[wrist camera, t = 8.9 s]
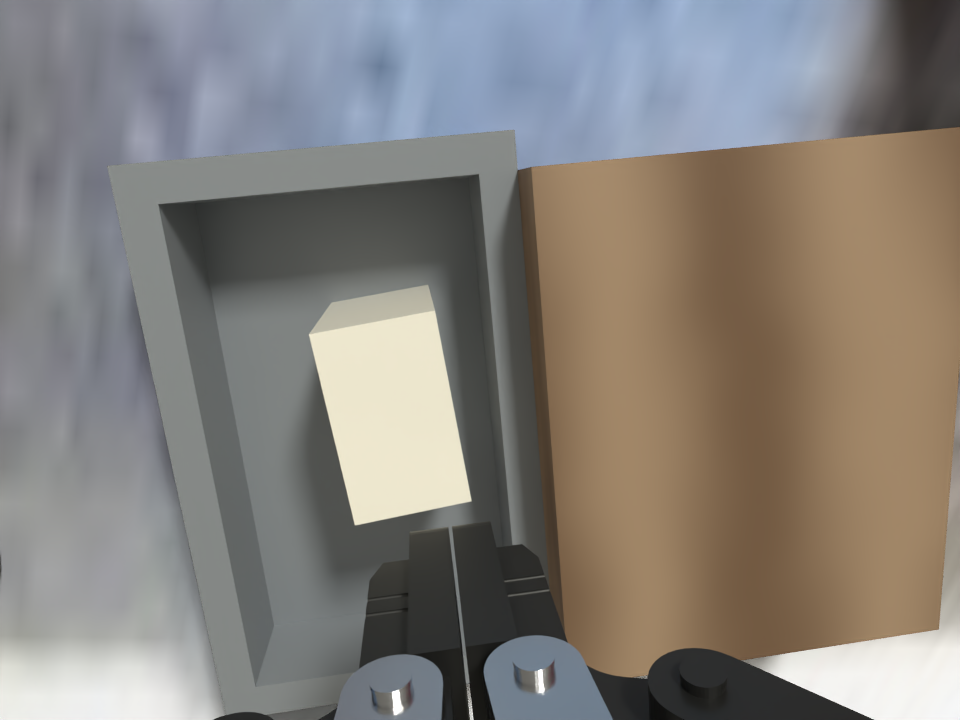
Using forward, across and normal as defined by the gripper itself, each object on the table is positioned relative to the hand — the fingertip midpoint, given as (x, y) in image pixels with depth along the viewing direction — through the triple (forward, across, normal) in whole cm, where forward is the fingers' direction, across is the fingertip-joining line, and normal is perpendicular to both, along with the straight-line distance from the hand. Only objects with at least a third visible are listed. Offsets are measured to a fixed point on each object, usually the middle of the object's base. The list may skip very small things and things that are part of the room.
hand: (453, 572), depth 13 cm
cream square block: (+7, 0, -2) cm, 7 cm away
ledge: (+11, -8, 0) cm, 14 cm away
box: (+11, +2, 0) cm, 11 cm away
